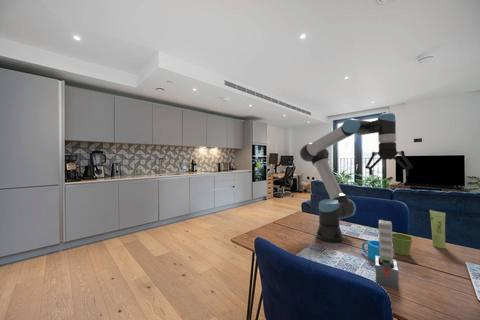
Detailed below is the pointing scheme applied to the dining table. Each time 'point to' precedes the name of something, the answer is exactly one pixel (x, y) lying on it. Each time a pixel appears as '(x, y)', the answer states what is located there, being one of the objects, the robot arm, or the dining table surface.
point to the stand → (387, 273)
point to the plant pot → (401, 243)
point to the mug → (372, 249)
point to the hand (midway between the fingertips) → (388, 181)
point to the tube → (438, 228)
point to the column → (385, 242)
